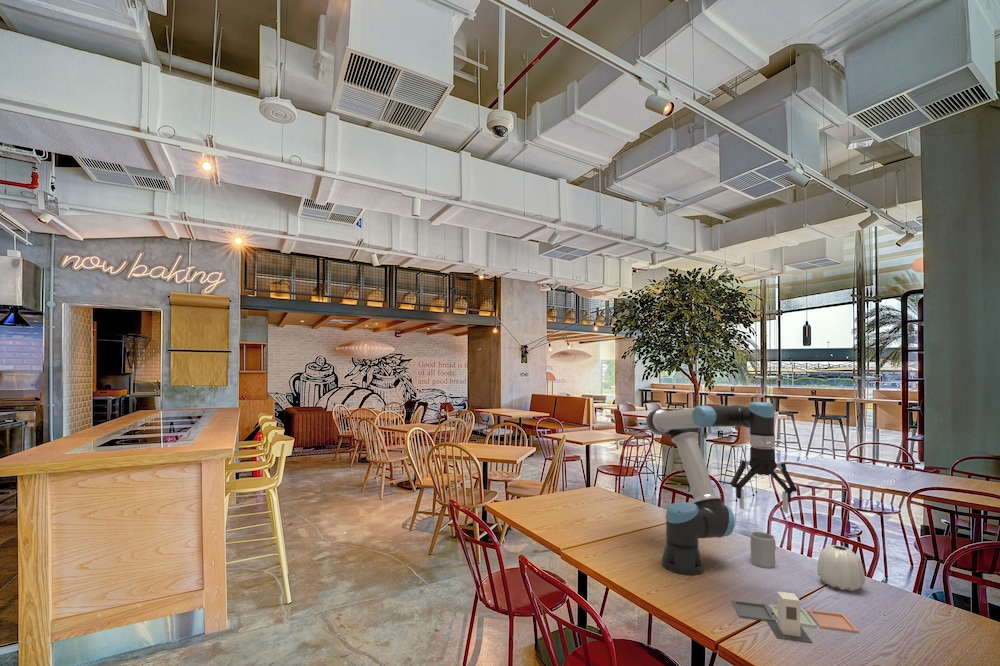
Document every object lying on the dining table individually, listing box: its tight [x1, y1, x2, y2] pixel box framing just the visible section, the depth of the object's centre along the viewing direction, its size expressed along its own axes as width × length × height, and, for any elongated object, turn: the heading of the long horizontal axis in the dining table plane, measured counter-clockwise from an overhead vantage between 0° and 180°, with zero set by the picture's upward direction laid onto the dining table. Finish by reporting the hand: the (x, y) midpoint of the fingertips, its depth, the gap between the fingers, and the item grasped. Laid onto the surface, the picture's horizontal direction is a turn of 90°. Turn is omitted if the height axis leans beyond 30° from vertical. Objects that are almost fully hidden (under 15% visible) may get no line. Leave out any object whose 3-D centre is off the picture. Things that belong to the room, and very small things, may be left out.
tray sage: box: [768, 604, 818, 629], centre depth 148 cm, size 10×10×1 cm
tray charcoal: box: [731, 599, 777, 622], centre depth 150 cm, size 10×10×1 cm
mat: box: [766, 621, 813, 644], centre depth 139 cm, size 9×9×1 cm
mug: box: [750, 531, 777, 569], centre depth 190 cm, size 12×8×11 cm
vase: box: [816, 544, 866, 592], centre depth 171 cm, size 14×14×13 cm
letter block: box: [776, 591, 801, 637], centre depth 139 cm, size 4×5×10 cm
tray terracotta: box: [806, 609, 860, 634], centre depth 145 cm, size 10×10×1 cm
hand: (763, 510), depth 163 cm, fingers open, 13 cm apart
